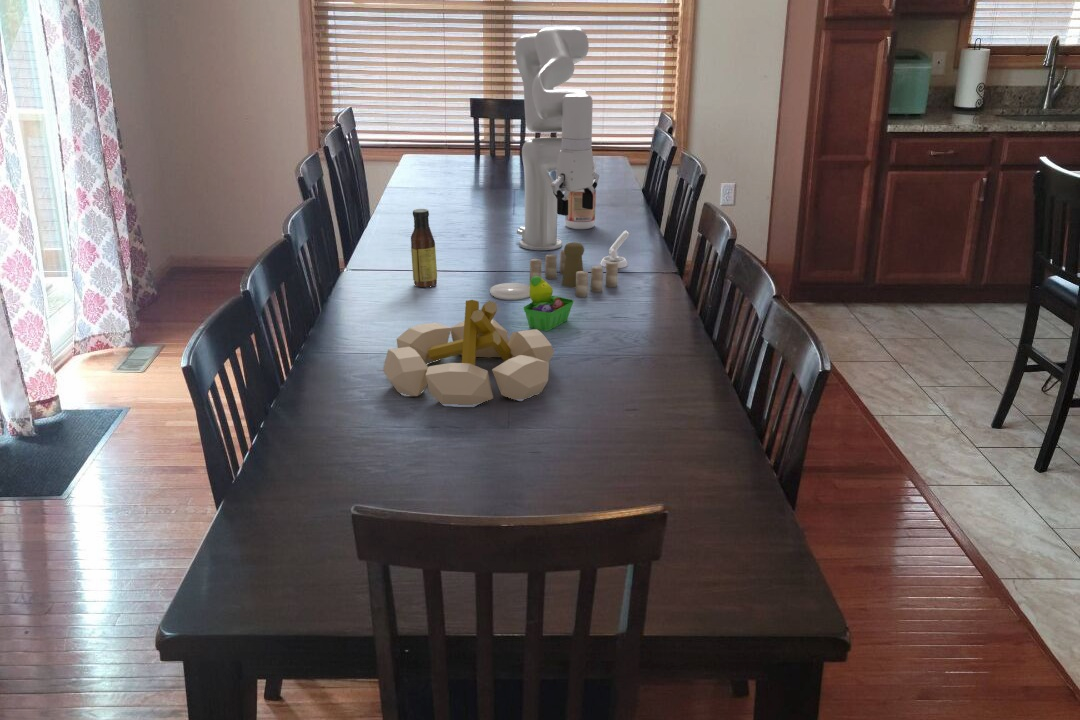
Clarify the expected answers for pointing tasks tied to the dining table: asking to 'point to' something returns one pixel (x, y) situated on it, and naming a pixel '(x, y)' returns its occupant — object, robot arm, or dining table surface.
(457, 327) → the campfire
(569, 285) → the cork
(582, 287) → the posts
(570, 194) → the fruit juice
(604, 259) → the white plastic lever piece
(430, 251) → the sauce bottle
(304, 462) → the dining table surface
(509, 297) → the white round plate
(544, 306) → the fruit basket
